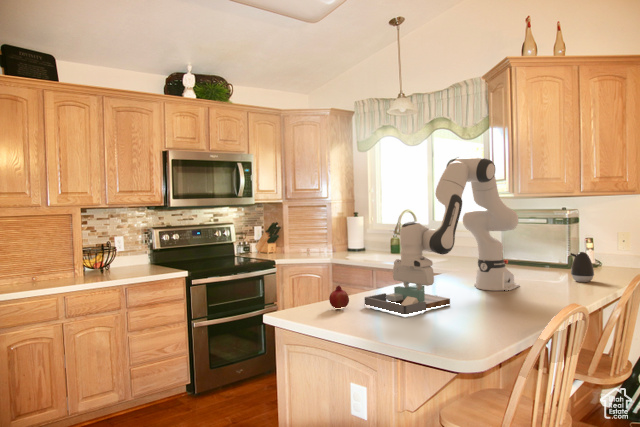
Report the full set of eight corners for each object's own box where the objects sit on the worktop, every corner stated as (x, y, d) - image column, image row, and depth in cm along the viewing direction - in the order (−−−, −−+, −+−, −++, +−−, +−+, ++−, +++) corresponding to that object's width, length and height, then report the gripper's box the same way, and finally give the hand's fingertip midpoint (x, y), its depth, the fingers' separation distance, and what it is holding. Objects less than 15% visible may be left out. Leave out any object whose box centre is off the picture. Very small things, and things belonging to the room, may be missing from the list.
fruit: (351, 311, 179) (350, 286, 179) (331, 312, 178) (330, 288, 178) (346, 306, 187) (346, 283, 187) (328, 308, 186) (327, 284, 186)
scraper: (409, 294, 194) (409, 283, 193) (434, 299, 182) (434, 287, 182) (394, 297, 188) (394, 286, 188) (419, 302, 177) (419, 290, 177)
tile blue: (394, 297, 188) (394, 293, 188) (403, 299, 184) (403, 294, 184) (386, 299, 185) (386, 294, 185) (394, 301, 181) (394, 296, 181)
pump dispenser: (571, 279, 234) (571, 250, 234) (595, 280, 228) (594, 251, 227) (569, 282, 226) (568, 252, 225) (593, 283, 219) (592, 253, 219)
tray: (385, 303, 191) (384, 293, 191) (426, 312, 173) (425, 301, 173) (364, 307, 185) (364, 297, 185) (405, 318, 166) (404, 306, 166)
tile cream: (409, 299, 181) (407, 296, 180) (418, 301, 177) (416, 298, 176) (402, 308, 179) (400, 304, 178) (411, 310, 175) (409, 306, 174)
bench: (414, 298, 200) (413, 291, 200) (450, 305, 183) (449, 298, 183) (388, 303, 190) (388, 296, 190) (423, 312, 174) (423, 304, 174)
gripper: (388, 259, 191) (390, 291, 192) (425, 263, 175) (426, 298, 175) (399, 258, 195) (400, 289, 195) (435, 261, 178) (436, 295, 178)
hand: (412, 293), depth 185 cm, fingers closed on scraper, 3 cm apart
